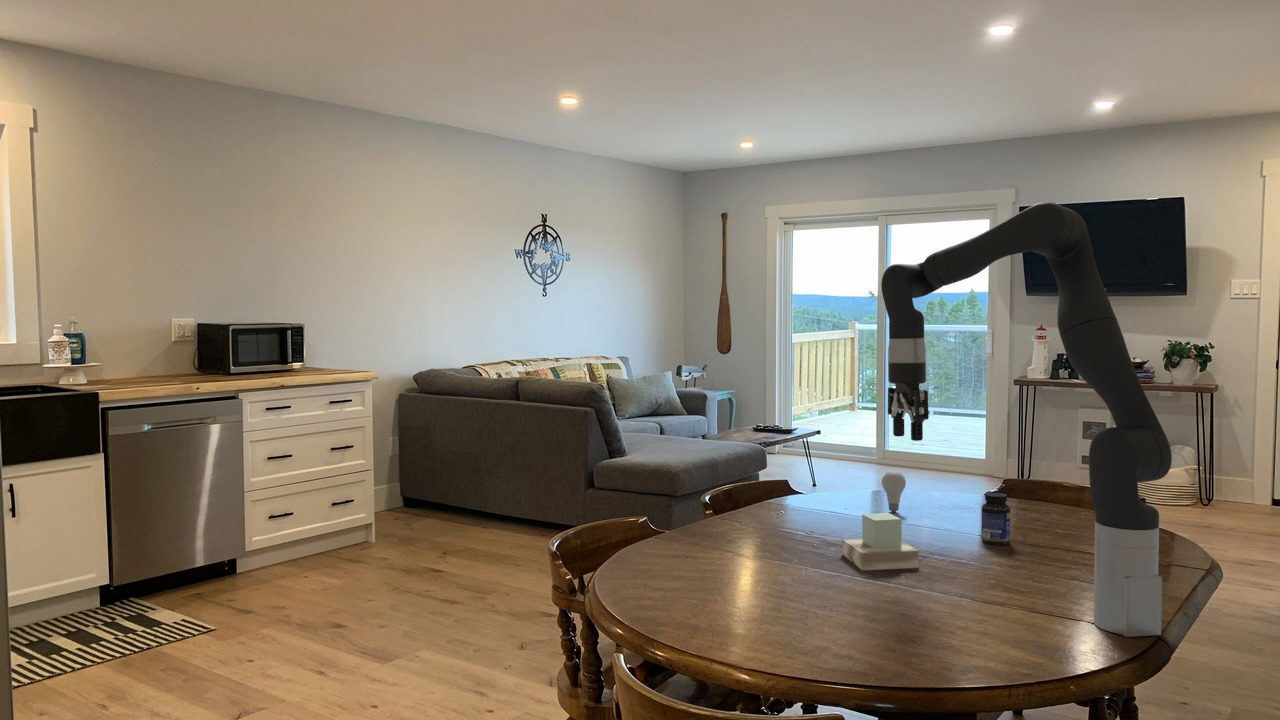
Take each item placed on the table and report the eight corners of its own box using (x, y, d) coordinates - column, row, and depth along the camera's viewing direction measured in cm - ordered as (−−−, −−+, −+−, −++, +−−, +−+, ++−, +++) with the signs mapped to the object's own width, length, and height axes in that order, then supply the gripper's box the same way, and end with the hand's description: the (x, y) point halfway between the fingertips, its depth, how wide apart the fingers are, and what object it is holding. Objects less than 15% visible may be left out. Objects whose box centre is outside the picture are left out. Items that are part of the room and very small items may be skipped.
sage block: (901, 547, 187) (901, 519, 187) (874, 549, 186) (874, 520, 186) (888, 540, 193) (888, 513, 193) (862, 542, 192) (862, 514, 192)
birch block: (918, 570, 184) (918, 550, 184) (862, 572, 183) (862, 553, 183) (895, 555, 196) (895, 537, 196) (842, 557, 195) (842, 539, 195)
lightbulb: (881, 514, 235) (881, 472, 234) (882, 509, 241) (882, 468, 240) (905, 515, 233) (905, 473, 233) (905, 510, 239) (905, 469, 238)
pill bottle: (1012, 546, 201) (1013, 497, 200) (983, 545, 202) (984, 496, 201) (1007, 539, 207) (1007, 492, 206) (979, 538, 208) (979, 491, 207)
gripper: (940, 361, 180) (940, 441, 180) (908, 359, 194) (909, 434, 194) (904, 361, 178) (905, 442, 179) (875, 360, 193) (876, 435, 193)
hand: (907, 438), depth 186 cm, fingers open, 8 cm apart
